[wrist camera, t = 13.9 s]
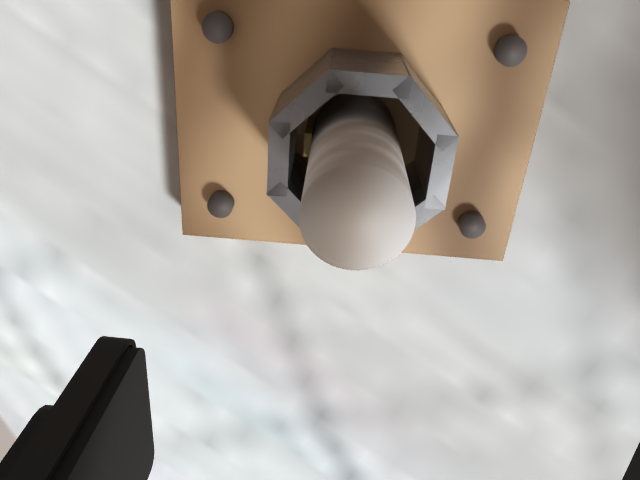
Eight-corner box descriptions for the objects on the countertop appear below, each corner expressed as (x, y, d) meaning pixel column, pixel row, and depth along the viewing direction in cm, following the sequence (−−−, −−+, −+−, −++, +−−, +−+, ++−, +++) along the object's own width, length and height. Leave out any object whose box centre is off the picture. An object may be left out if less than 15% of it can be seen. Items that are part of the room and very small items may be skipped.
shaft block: (554, -4, 24) (691, 37, 15) (493, 241, 30) (563, 388, 20) (181, -34, 24) (71, -13, 15) (192, 216, 30) (118, 351, 20)
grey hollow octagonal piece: (450, 56, 24) (470, 80, 20) (424, 208, 27) (437, 254, 23) (281, 42, 24) (269, 63, 20) (276, 197, 27) (264, 240, 23)
